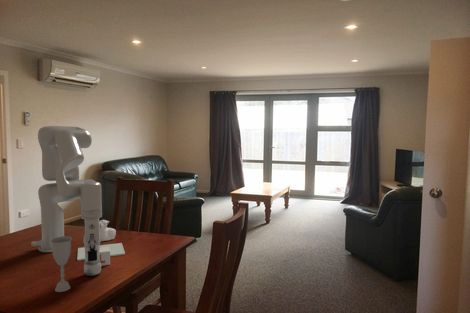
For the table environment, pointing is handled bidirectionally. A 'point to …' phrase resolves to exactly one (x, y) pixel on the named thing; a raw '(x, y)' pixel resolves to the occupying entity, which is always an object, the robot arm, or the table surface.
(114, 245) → the sage mat
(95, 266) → the metal bottle
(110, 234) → the bust
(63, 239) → the chalice
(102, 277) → the table surface
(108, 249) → the lettered cube
